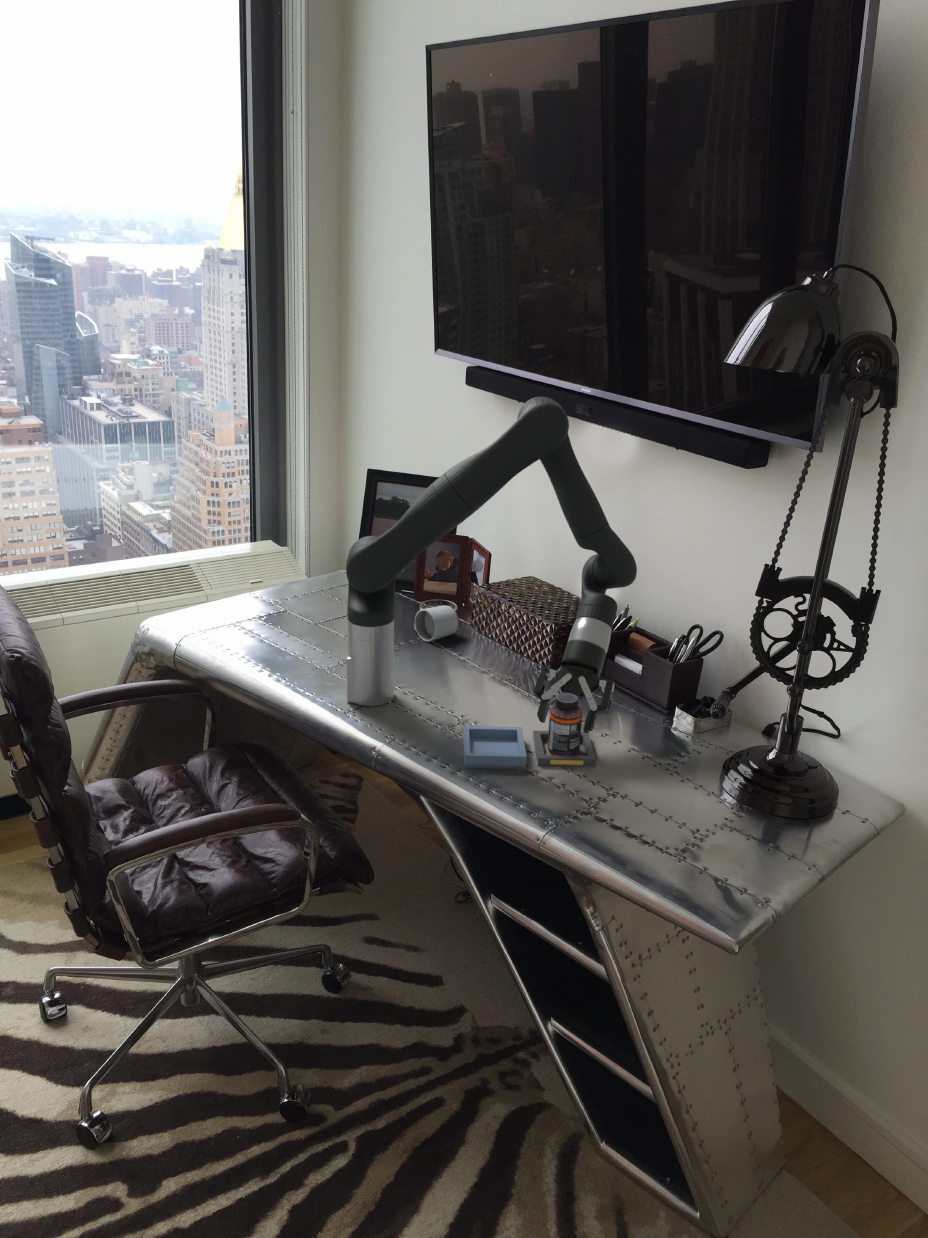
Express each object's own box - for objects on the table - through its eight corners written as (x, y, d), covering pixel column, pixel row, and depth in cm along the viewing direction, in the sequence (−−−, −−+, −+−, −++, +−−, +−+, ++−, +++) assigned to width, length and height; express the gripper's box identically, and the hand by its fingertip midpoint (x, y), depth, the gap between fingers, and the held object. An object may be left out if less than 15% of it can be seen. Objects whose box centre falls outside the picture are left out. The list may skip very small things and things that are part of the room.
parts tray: (464, 767, 177) (464, 755, 176) (463, 737, 187) (463, 726, 187) (525, 769, 178) (526, 756, 177) (521, 739, 188) (521, 727, 187)
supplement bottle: (557, 740, 188) (561, 686, 184) (584, 750, 185) (589, 696, 180) (541, 753, 183) (545, 698, 179) (569, 763, 180) (574, 707, 176)
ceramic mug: (460, 637, 232) (461, 606, 230) (434, 646, 227) (435, 614, 224) (431, 624, 240) (431, 594, 237) (405, 632, 234) (405, 602, 232)
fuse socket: (537, 765, 179) (538, 758, 178) (532, 737, 189) (533, 730, 188) (595, 767, 179) (595, 759, 179) (587, 738, 189) (587, 731, 188)
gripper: (547, 631, 186) (522, 711, 180) (621, 646, 180) (598, 728, 175) (554, 647, 192) (531, 725, 187) (626, 661, 187) (604, 741, 181)
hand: (563, 726), depth 181 cm, fingers open, 8 cm apart
